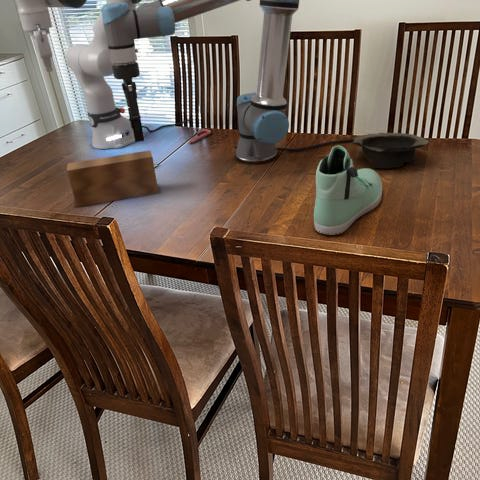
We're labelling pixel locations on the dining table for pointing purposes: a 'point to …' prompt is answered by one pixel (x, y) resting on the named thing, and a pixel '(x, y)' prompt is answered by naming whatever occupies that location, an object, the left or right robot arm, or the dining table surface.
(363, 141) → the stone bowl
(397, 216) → the dining table surface
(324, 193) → the sneaker
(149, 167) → the box
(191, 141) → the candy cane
